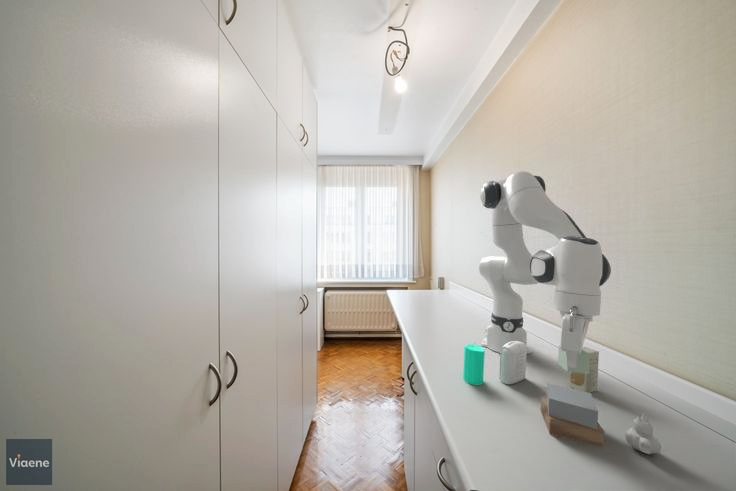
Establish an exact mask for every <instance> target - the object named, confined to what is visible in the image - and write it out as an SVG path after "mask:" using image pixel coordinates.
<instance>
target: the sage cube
mask: <svg viewBox="0 0 736 491" xmlns="http://www.w3.org/2000/svg"><path fill="white" fill-rule="evenodd" d="M557 364H558V365H559V366H560V367H561V368H563V369H564V370H565V371H566V372H570V373H571V372H577V373H585V374H589V368H590V354H589V353H587V352H585V351H584V350H582V351H581V354H578V356H577V366H576V368H572V367H568V366H567V356H566V351H562V350H561V347H560V344H559V345H558V357H557Z"/></svg>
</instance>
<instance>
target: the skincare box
mask: <svg viewBox="0 0 736 491" xmlns="http://www.w3.org/2000/svg"><path fill="white" fill-rule="evenodd" d="M582 350H584V351H585V352H587V353H589V354H590V368H589V374H585V373H577V372H570V385H569V386H570V387H569V388H571V389H575V390H580V391H584V392H588V393H593V392H596V391H598V389H599V388H598V386H599V384H598V383H599V382H598V381H599V380H598V379H599V360H600V359H599V355H600V352H599V351H598V350H596V349H592V348H590V347H586V346H583V347H582Z"/></svg>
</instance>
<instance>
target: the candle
mask: <svg viewBox="0 0 736 491" xmlns="http://www.w3.org/2000/svg"><path fill="white" fill-rule="evenodd" d="M463 348H464V351H463V373H462V379H463V381H464V382H466V383H467V384H470V385H473V386H474V385H475V386H480V385H483V384H484V375H485V374H484V371H485V370H484V368H485V348H484V347H482V345H478V344H476V342H474V343H473V344H467V345H464V347H463Z"/></svg>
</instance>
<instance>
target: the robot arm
mask: <svg viewBox="0 0 736 491" xmlns="http://www.w3.org/2000/svg"><path fill="white" fill-rule="evenodd" d="M546 190H547V189H546V183H545V180H544V179H543V178H542V177H541V176H540V175H533V173H530V172H528V171H525V170H524V171H518V172H517V171H516V172H514V173H513V174H511V175H510V176H508V177H507V178H501V179H498V180H490V181H486V182H484V184H483V185H482V186H481V189H480V193H479V199H480V202H481V203H482V206H483V207H485V209H491V210H492V211H491V228H492V229H491V230H492V231H491V232H492V242H493V243H494V245H495V246H496V247H497V248H500V249H501V250H502V251H503V253H505V255H489V256H484V257H483V258H481V260H480V262H479V264H478V270H479V273H480V275H481V276H482V277H483V278H484V280H486V282H487V283H488V285H489V288H490V290H491V294H492V313H491V316H490V318H491V319H490V324H489V325H488V326H487V327H485V333H486V334H485V336H484V338H483V340H482V341H481V345H480V346H481V347H482V346H483V348H484V347H485V348H488V349H489V350H491V351H494V352H496V353H499V354H501V348H502V347H503V346H504V345H505V344H507V343H509V342H511V341H519V342H522V343H524V344H525V345H526V348H527V354H532V350H531V349H530V348H529V347H528V346H527V345H528V342H527V341H528V336H527V335H528V333H527V331H526V330H525V329H524V328H523V327H524V317H523V308H524V307H523V305H524V304H523V303H524V302H523V301H524V300H523V298H522V296H521V295H520V294H519V293H518V292H516V291H514V289H513V287H512V285H511V284H516V285H522V286H524V285H526V286H530V285H538V284H543V285H548V286H551V285H552V286H555V288H554V297H553V298H554V302H553V308H554V309H555V310H556V311H559V316H560V317H561V318H562V321H561V330H560V344H559V345H560V347H561V350H562V351H566V356H567V366H568V367H572V368H576V366H577V356H578V354H581V351H582V347H584V342H585V340H586V337H587V336H586V335H587V333H588V329H589V324H590V322H591V323H592V322H593V319H594V318H593V317H597V316H600V315H601V304H602V303H601V302H602V300H601V299H602V291H601V288H600V287H601V286H603V285H604V284H605V283H606V282H607V281H608V280H609V278H610V276H611V274H612V268H611V264H610V262H609V260H608V258H607V257H606V256H605V255H604V254H603V252H602V247H601V244H600V242H599V241H597V239H594V238H589V237H587V236H586V235H585V233H584V232H583V231H582V230H581V229H580V227H579V226H578V225H577V223H576V222H575V221H574V219H573V218H572V217H571V215H569V214H568V213H567V212H566V211H565V210H563V209H561V208H560V207H559V206H558V205H556V204H555V203H554V202H553V201H552V200H551V199H550V198H549V196H548V195H547V194H546ZM523 226H527V227H530V228H534V229H538V230H542V231H544V232H548V233H549V234H551V235H553V236H554V237H556V238H557V240H558V243H557V244H555V245H553V246H551V247H549V248H548V247H547V248H545V249H543V250H538V251H537V252H536V253H535V254H534V255H532V253H530V251H529V250H528V247H527V245H526V244H525V239H524V233H523V232H524V231H523Z"/></svg>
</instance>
